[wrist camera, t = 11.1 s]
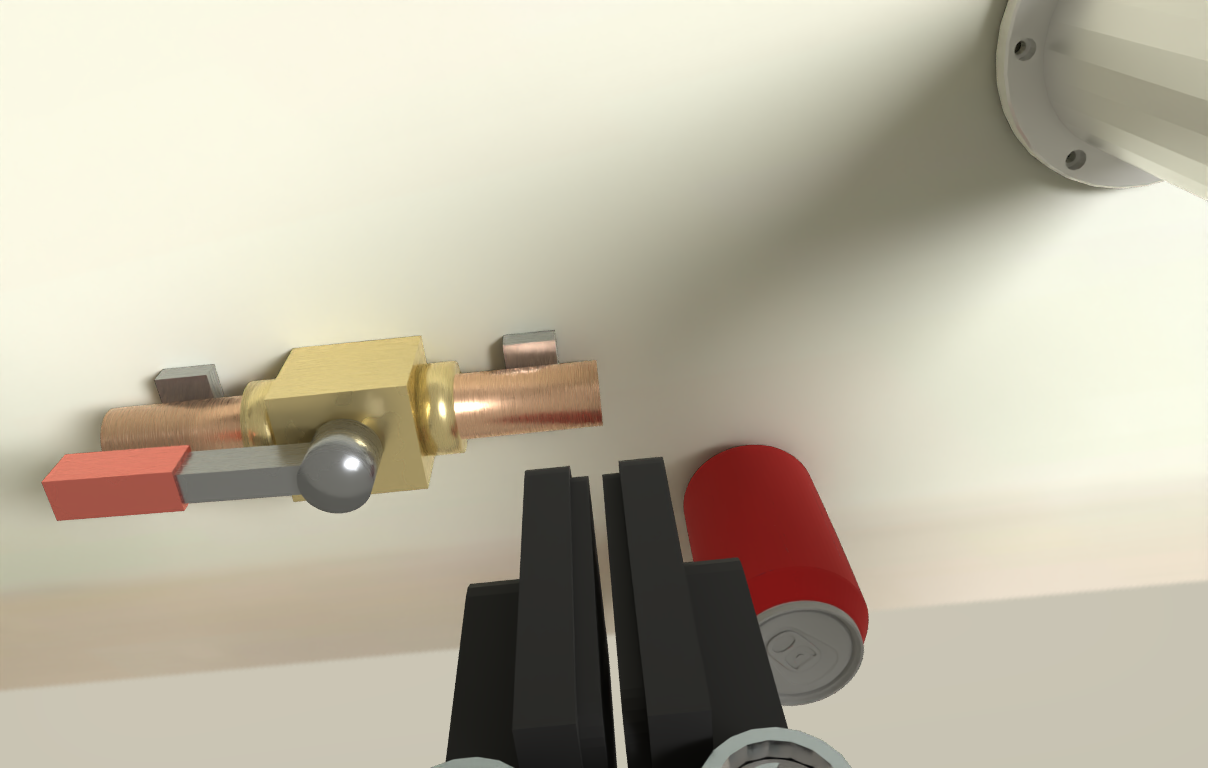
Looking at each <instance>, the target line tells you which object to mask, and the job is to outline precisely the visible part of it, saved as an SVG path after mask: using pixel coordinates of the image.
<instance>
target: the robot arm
mask: <svg viewBox="0 0 1208 768" xmlns="http://www.w3.org/2000/svg"><path fill="white" fill-rule="evenodd" d="M1019 42H1021V48H1020V49H1019V51H1018V52H1014V50H1015V47H1016V45H1017V44H1018V43H1019ZM996 74H997V88H998V92H999V96H1000V100H1001V104H1002V108H1003V112H1004V114H1005V116H1006V118H1007V120H1008V122H1009V124H1010V126H1011V128H1012V131H1013V133H1014V135H1015V136H1016V137H1017V138H1018V140H1019V141H1020V142H1021V143H1022V144H1023V146H1024V147H1025V148H1026V149H1027V151H1028V152H1029V153H1030V154H1031V155H1032V156H1034V157H1035V158H1036V159H1038V160H1039V161H1040V162H1042V163H1043V164H1044V165H1046V166H1047V167H1048V168H1050V169H1051V170H1053V171H1055V172H1057V173H1059V174H1060V175H1062V176H1064V177H1066V178H1068V179H1071V180H1074V181H1077V182H1081V183H1084V184H1087V185H1090V186H1095V187H1105V188H1116V189H1122V188H1132V187H1142V186H1148V185H1152V184H1155V183H1159V182H1163V181H1166V182H1168V183H1170V184H1173V185H1175V186H1177V187H1179V188H1181V189H1183V190H1185V191H1187V192H1189V193H1191V194H1194V195H1196V196H1198V197H1200V198H1202V199H1204V200H1206V201H1208V0H1008V3H1007V6H1006V9H1005V12H1004V15H1003V18H1002V22H1001V25H1000V31H999V38H998V45H997V51H996ZM1070 153H1071V155H1070V157H1069V158H1068V159H1067V156H1068V155H1069V154H1070ZM619 472H620V473H614V474H604V475H602V478H603V490H604V502H605V514H606V526H607V538H608V549H609V561H610V573H611V585H612V597H613V609H614V621H615V633H616V645H617V656H618V669H619V681H620V692H621V704H622V715H623V725H624V735H625V744H626V754H627V763H628V768H851V766H850V765H849V764H848V762H847V761H846V760H845V758H844V757H843V756H842V755H841V754H840V753H839V752H837V751H836V750H835V749H833V748H832V747H831V746H829V745H828V744H827V743H826V742H824V741H823V740H821V739H818V738H816V737H814V736H811V735H809V734H806V733H804V732H801V731H798V730H792V729H788V727H787V723H786V720H785V716H784V713H783V709H782V706H781V702H780V698H779V695H778V691H777V688H776V684H775V681H774V677H773V673H772V670H771V666H770V663H769V659H768V655H767V652H766V648H765V645H764V641H763V638H762V634H761V630H760V627H759V623H758V620H757V616H756V613H755V609H754V605H753V602H752V598H751V595H750V591H749V588H748V584H747V580H746V577H745V573H744V570H743V567H742V564H741V561H740V559H739V558H738V557H735V558H726V559H716V560H706V561H696V562H686V563H683V559H682V554H681V548H680V543H679V538H678V533H677V528H676V523H675V517H674V512H673V507H672V502H671V497H670V491H669V486H668V481H667V476H666V471H665V466H664V461H663V457H655V458H645V459H635V460H625V461H619ZM431 768H617V761H616V748H615V734H614V719H613V706H612V693H611V678H610V666H609V654H608V644H607V635H606V627H605V618H604V609H603V600H602V591H601V583H600V574H599V565H598V556H597V548H596V539H595V530H594V521H593V512H592V504H591V495H590V486H589V478H588V476H584V477H574V478H572V477H571V470H570V466H565V467H555V468H545V469H535V470H526V471H525V478H524V498H523V518H522V539H521V559H520V579H516V580H506V581H496V582H486V583H476V584H470V585H469V587H468V590H467V595H466V602H465V610H464V618H463V626H462V634H461V642H460V650H459V659H458V666H457V675H456V683H455V691H454V699H453V707H452V715H451V723H450V731H449V739H448V748H447V755H446V762H445V763H442V764H439V765H437V766H434V767H431Z"/></svg>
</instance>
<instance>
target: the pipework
mask: <svg viewBox="0 0 1208 768" xmlns="http://www.w3.org/2000/svg"><path fill="white" fill-rule="evenodd" d="M503 352H504V358H505V365H506V369H502V370H492V371H482V372H472V373H462V374H461V372H460V369H459V366H458V364H457V362H456V361H449V362H439V363H429V364H427V362H426V357H425V352H424V347H423V342H422V337H421V336H412V337H402V338H392V339H382V340H372V341H362V342H352V343H342V344H332V345H322V346H312V347H302V348H293V349H292V351H291V353H290V355H289V356H288V358H287V360H286V362H285V363H284V365H283V367H282V369H281V370H280V372H279V374H278V376H277V377H276V379H268V380H258V381H251V382H250V383H248V384H247V386H246V388H245V389H244V392H243V395H241V396H231V397H224V394H223V391H222V388H221V384H220V381H219V378H218V375H217V372H216V369H215V365H214V364H211V365H201V366H191V367H181V368H171V369H163V370H162V371H161V372H160V374H159V375H158V376H157V377H156V379H155V380H154V381H155V384H156V387H157V389H158V392H159V395H160V398H161V401H162V403H161V404H151V405H141V406H131V407H121V408H113V409H111V410H109V411H108V412H107V413H106V415H105V417H104V419H103V422H102V426H101V434H100V439H101V448H102V451H115V450H128V449H141V448H154V447H167V446H180V445H190V448H191V451H205V450H218V449H231V448H244V447H257V446H270V445H283V444H296V443H309V442H311V440H312V438H313V436H314V434H315V432H316V431H317V429H318V428H319V427H321V426H322V425H323V424H325V423H327V422H329V421H332V420H335V419H352V420H356V421H359V422H361V423H363V424H365V425H367V426H368V427H370V428H371V429H372V430H373V431H374V432H375V433H376V434H377V436H378V437H379V439H380V441H381V444H382V450H383V451H382V458H381V462H380V465H379V468H378V472H377V475H376V478H375V482H374V485H373V488H372V492H371V494H378V493H388V492H398V491H408V490H418V489H428V486H429V482H430V477H431V472H432V467H433V463H434V458H435V456H437V455H447V454H457V453H464V452H465V451H466V447H467V439H474V438H484V437H494V436H504V435H514V434H524V433H534V432H544V431H554V430H564V429H574V428H584V427H594V426H603V422H602V412H601V402H600V391H599V382H598V372H597V362H596V360H592V361H582V362H572V363H562V364H559V361H558V353H557V345H556V337H555V330H552V331H542V332H532V333H521V334H511V335H504V336H503ZM292 498H293V501H294V502H298V501H306V500H305V499H304V497H303V496H302V495H292Z"/></svg>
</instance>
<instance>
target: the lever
mask: <svg viewBox="0 0 1208 768" xmlns="http://www.w3.org/2000/svg"><path fill="white" fill-rule="evenodd" d="M382 451H383V450H382V444H381V441H380V439H379V437H378V436H377V434H376V433H375V432H374V431H373V430H372V429H371V428H370V427H368V426H367V425H365V424H363V423H361V422H359V421H356V420H352V419H335V420H332V421H329V422H327V423H325V424H323V425H322V426H321V427H319V428H318V429H317V431H316V432H315V434H314V436H313V438H312V440H311V442H309V443H296V444H283V445H270V446H257V447H244V448H231V449H218V450H205V451H191V448H190V445H180V446H167V447H154V448H141V449H128V450H115V451H102V452H89V453H76V454H65V455H64V456H63V458H62V459H61V460H60V461H59V462H58V463H57V465H56V466H55V467H54V468H53V469H52V470H51V472H50V473H49V474H48V475H47V476H46V477H45V478H44V480H43V481H42V485H43V487H44V490H45V492H46V495H47V497H48V500H49V502H50V505H51V507H52V509H53V512H54V514H55V517H56V519H57V521H61V520H73V519H86V518H99V517H112V516H125V515H137V514H150V513H163V512H176V511H185V509H186V507H187V506H188V504H189V503H200V502H212V501H225V500H238V499H251V498H264V497H277V496H289V495H302V496H303V497H304V499H305V500H306V501H307V502H308V503H310V504H311V505H312V506H314V507H316V508H318V509H320V510H322V511H326V512H330V513H347V512H350V511H353V510H356V509H358V508H359V507H361V506H362V505H363V504H364V503H365V502H366V501H367V500H368V498H369V497H370V494H371V492H372V488H373V485H374V482H375V478H376V475H377V472H378V468H379V465H380V462H381V458H382Z"/></svg>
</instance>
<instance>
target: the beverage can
mask: <svg viewBox="0 0 1208 768" xmlns="http://www.w3.org/2000/svg"><path fill="white" fill-rule="evenodd" d="M684 515H685V520H686V525H687V531H688V536H689V541H690V546H691V551H692V556H693V561H694V562H696V561H706V560H716V559H726V558H735V557H738V558H739V559H740V561H741V564H742V567H743V570H744V573H745V577H746V580H747V584H748V588H749V591H750V595H751V598H752V602H753V605H754V609H755V613H756V616H757V620H758V623H759V627H760V630H761V634H762V638H763V641H764V645H765V648H766V652H767V655H768V659H769V663H770V666H771V670H772V673H773V677H774V681H775V684H776V688H777V691H778V695H779V698H780V702H781V705H783V706H784V705H785V706H795V705H804V704H809V703H813V702H816V701H819V700H822V699H824V698H827V697H829V696H830V695H832V694H834V693H836V692H837V691H839V690H840V689H842V688H843V687H844V686H845V685H846V684H847V683H848V682H849V681H850V680H851V679H852V678H853V677H854V675H855V674H856V673H857V671H858V669H859V667H860V665H861V662H862V659H863V653H864V645H863V644H864V641H865V638H866V634H867V630H868V621H869V619H868V609H867V605H866V603H865V600H864V598H863V595H862V593H861V591H860V588H859V586H858V583H857V581H856V579H855V576H854V574H853V572H852V569H851V567H850V564H849V562H848V560H847V557H846V555H845V553H844V551H843V548H842V546H841V544H840V541H839V539H838V537H837V535H836V532H835V530H834V528H833V525H832V523H831V521H830V519H829V517H828V514H827V512H826V510H825V508H824V505H823V503H822V501H821V499H820V497H819V495H818V492H817V490H816V488H815V486H814V484H813V482H812V480H811V477H810V475H809V473H808V471H807V470H806V468H805V467H804V466H803V465H802V463H801V462H799V461H798V460H797V459H796V458H795V457H794V456H792V455H791V454H789V453H787V452H785V451H783V450H781V449H778V448H775V447H771V446H765V445H745V446H739V447H735V448H731V449H728V450H726V451H723V452H721V453H719V454H717V455H715V456H714V457H712V458H711V459H709V460H708V461H706V462H705V463H704V464H703V465H702V466H701V467H700V468H699V469H698V470H697V471H696V472H695V474H694V475H693V477H692V478H691V480H690V482H689V484H688V486H687V488H686V492H685V496H684Z"/></svg>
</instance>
